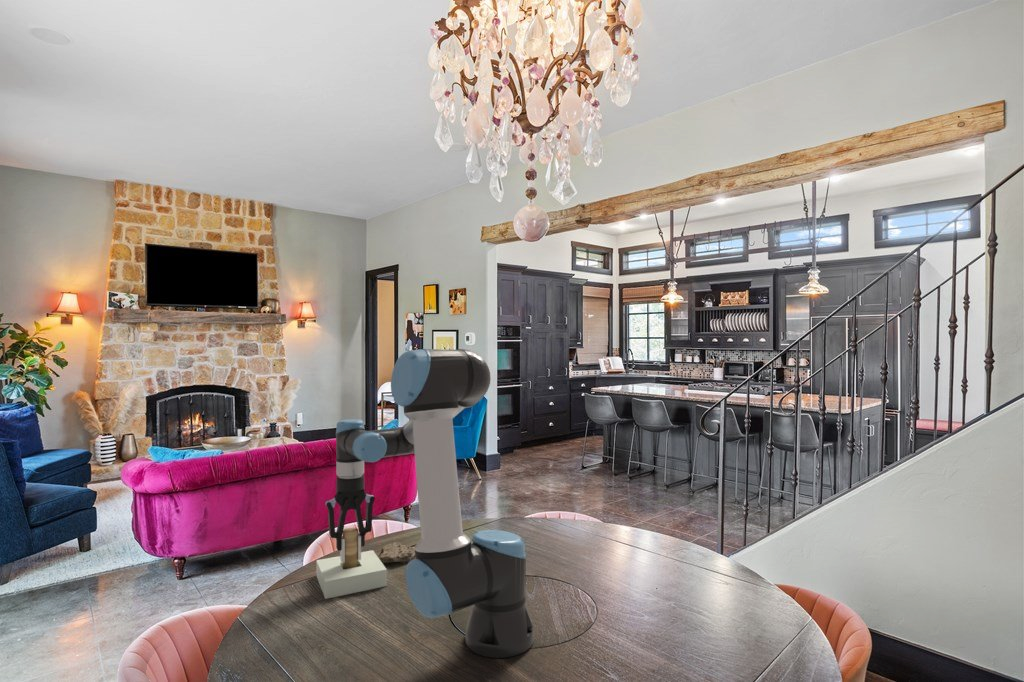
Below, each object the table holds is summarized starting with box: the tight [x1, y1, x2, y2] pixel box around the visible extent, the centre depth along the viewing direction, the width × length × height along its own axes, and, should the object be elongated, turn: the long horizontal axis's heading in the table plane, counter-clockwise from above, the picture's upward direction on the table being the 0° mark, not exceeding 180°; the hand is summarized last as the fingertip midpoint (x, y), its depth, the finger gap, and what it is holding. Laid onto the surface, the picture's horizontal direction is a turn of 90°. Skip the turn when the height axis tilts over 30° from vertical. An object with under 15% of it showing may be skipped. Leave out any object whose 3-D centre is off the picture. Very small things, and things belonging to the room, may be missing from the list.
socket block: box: [315, 549, 388, 600], centre depth 151 cm, size 16×16×4 cm
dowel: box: [342, 527, 359, 570], centre depth 152 cm, size 4×4×12 cm
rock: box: [377, 541, 415, 564], centre depth 166 cm, size 11×11×4 cm
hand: (350, 559), depth 152 cm, fingers closed on dowel, 4 cm apart
